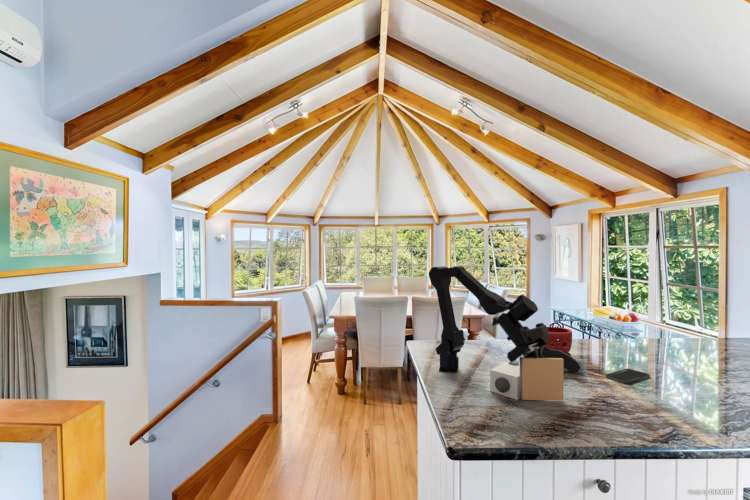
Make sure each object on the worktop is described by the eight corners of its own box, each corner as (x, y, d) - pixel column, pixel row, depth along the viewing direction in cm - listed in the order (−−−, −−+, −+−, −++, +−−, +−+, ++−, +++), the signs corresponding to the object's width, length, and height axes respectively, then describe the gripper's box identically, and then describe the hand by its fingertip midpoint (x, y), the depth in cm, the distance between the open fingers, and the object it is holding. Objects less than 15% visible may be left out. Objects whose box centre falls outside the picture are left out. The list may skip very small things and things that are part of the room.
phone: (604, 375, 127) (627, 368, 134) (604, 378, 127) (627, 371, 134) (628, 382, 120) (651, 374, 127) (628, 386, 120) (651, 377, 127)
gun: (573, 388, 132) (586, 365, 131) (531, 365, 135) (544, 343, 134) (570, 385, 135) (583, 362, 134) (529, 363, 137) (542, 341, 136)
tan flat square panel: (519, 397, 110) (519, 357, 110) (561, 398, 109) (561, 357, 109) (520, 399, 108) (520, 358, 108) (563, 400, 108) (563, 359, 107)
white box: (488, 392, 115) (488, 368, 115) (510, 379, 125) (510, 358, 125) (515, 401, 109) (515, 376, 108) (536, 387, 119) (536, 364, 119)
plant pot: (573, 355, 152) (573, 327, 152) (570, 364, 141) (570, 334, 141) (539, 351, 159) (539, 324, 159) (535, 359, 148) (535, 330, 148)
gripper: (518, 319, 106) (555, 366, 98) (544, 311, 119) (579, 352, 111) (493, 339, 112) (526, 385, 105) (520, 330, 125) (552, 370, 117)
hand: (547, 372), depth 109 cm, fingers closed
